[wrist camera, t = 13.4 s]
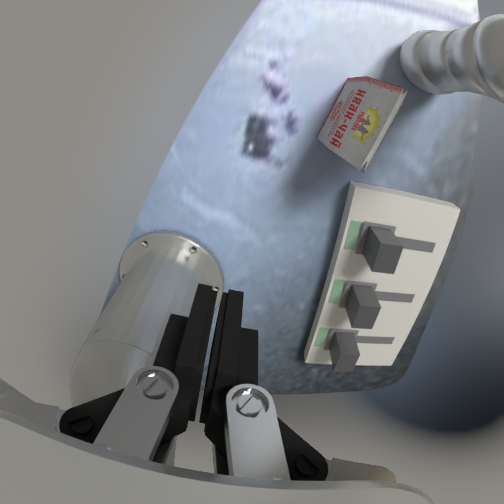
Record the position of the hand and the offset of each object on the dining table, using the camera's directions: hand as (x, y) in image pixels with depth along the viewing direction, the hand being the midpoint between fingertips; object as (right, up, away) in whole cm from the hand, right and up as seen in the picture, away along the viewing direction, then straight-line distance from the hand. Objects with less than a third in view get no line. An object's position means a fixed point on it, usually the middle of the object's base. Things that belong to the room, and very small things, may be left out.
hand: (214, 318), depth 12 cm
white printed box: (+11, +15, +16) cm, 25 cm away
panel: (+16, -2, +25) cm, 30 cm away
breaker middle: (+13, -2, +23) cm, 26 cm away
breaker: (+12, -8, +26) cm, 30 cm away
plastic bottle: (+18, +21, +13) cm, 31 cm away
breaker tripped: (+14, +4, +20) cm, 24 cm away
